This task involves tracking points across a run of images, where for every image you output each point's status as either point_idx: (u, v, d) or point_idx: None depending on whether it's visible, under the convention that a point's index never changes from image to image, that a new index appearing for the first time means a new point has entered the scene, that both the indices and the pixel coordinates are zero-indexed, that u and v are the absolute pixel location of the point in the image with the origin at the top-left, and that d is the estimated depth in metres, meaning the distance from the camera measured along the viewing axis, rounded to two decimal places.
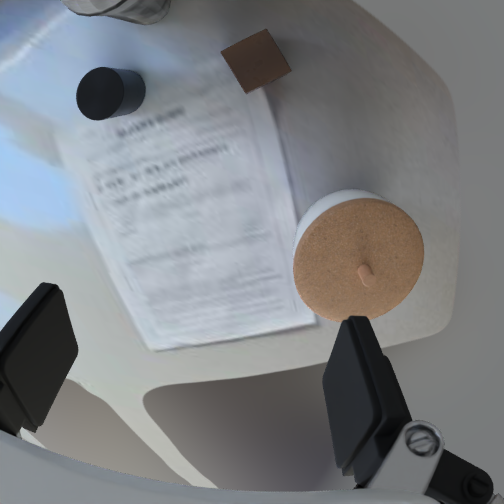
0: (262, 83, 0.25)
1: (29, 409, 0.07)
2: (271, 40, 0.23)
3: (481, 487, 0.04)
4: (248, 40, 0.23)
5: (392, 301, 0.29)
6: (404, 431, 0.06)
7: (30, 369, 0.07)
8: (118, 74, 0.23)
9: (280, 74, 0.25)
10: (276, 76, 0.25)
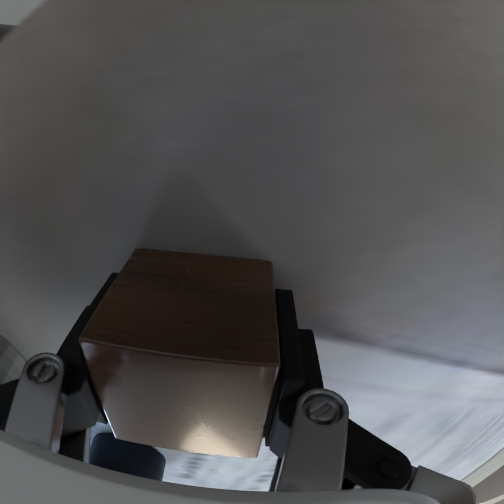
0: (259, 431, 0.08)
1: None
2: (126, 353, 0.06)
3: (394, 469, 0.05)
4: (103, 393, 0.07)
5: None
6: (304, 397, 0.07)
7: None
8: None
9: (267, 395, 0.07)
10: (265, 404, 0.07)
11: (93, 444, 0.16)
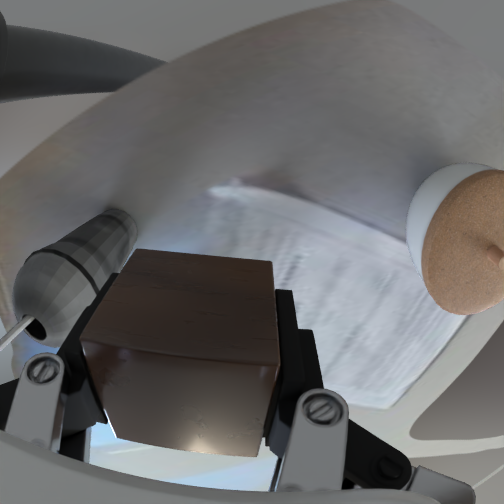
0: (259, 431, 0.08)
1: None
2: (127, 352, 0.06)
3: (394, 469, 0.05)
4: (104, 392, 0.07)
5: None
6: (304, 397, 0.07)
7: None
8: None
9: (267, 394, 0.07)
10: (265, 403, 0.07)
11: None
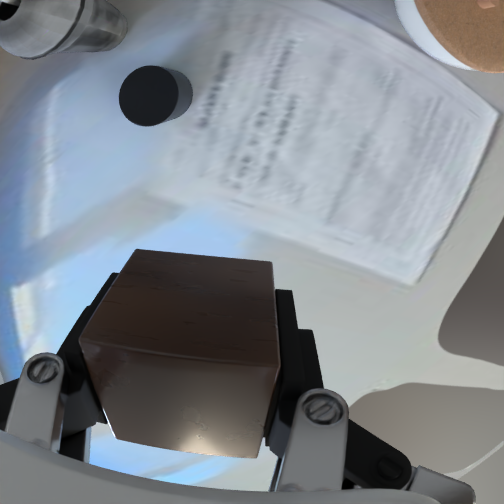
0: (259, 432, 0.08)
1: None
2: (126, 353, 0.06)
3: (394, 469, 0.05)
4: (103, 394, 0.07)
5: None
6: (304, 397, 0.07)
7: None
8: (145, 66, 0.21)
9: (267, 395, 0.07)
10: (265, 405, 0.07)
11: None
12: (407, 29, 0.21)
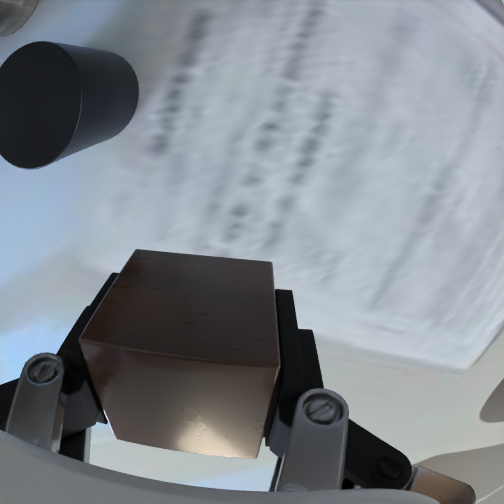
0: (259, 432, 0.08)
1: None
2: (126, 354, 0.06)
3: (394, 469, 0.05)
4: (103, 393, 0.07)
5: None
6: (304, 397, 0.07)
7: None
8: (26, 45, 0.08)
9: (267, 396, 0.07)
10: (265, 405, 0.07)
11: None
12: None
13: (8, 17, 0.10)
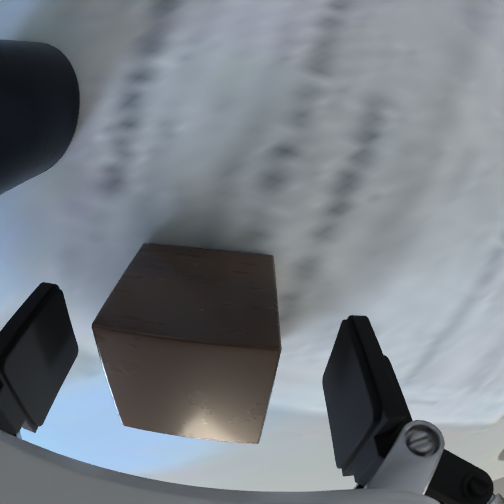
0: (261, 416, 0.08)
1: (29, 409, 0.07)
2: (137, 338, 0.07)
3: (481, 487, 0.04)
4: (113, 379, 0.08)
5: None
6: (404, 431, 0.06)
7: (30, 369, 0.07)
8: None
9: (269, 378, 0.07)
10: (267, 388, 0.08)
11: None
12: None
13: None
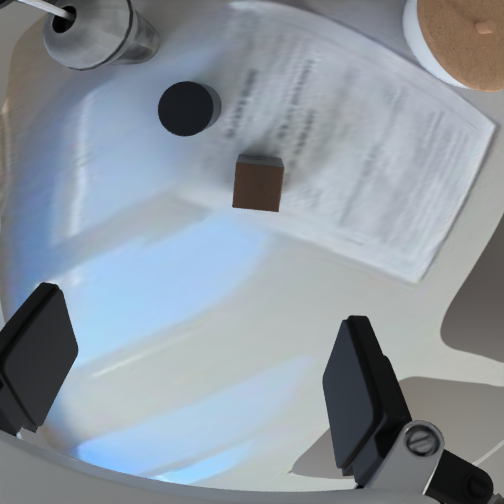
0: (279, 195, 0.31)
1: (29, 409, 0.07)
2: (249, 165, 0.30)
3: (481, 487, 0.04)
4: (237, 182, 0.30)
5: None
6: (404, 431, 0.06)
7: (30, 369, 0.07)
8: None
9: (281, 177, 0.30)
10: (281, 181, 0.30)
11: None
12: (413, 52, 0.24)
13: (147, 56, 0.27)
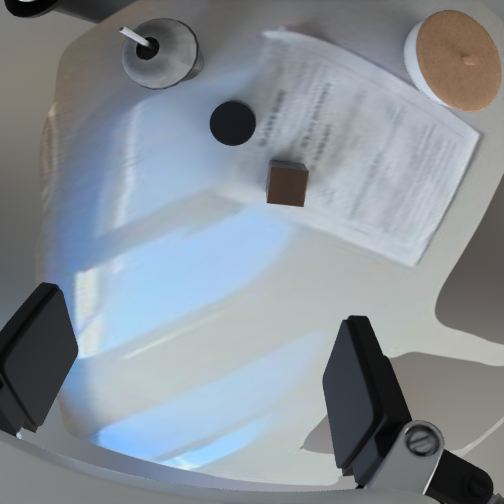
0: (304, 193, 0.38)
1: (29, 409, 0.07)
2: (281, 169, 0.37)
3: (481, 487, 0.04)
4: (271, 182, 0.38)
5: (496, 63, 0.25)
6: (404, 431, 0.06)
7: (30, 369, 0.07)
8: (231, 101, 0.32)
9: (306, 179, 0.38)
10: (306, 183, 0.38)
11: None
12: (411, 78, 0.32)
13: (195, 75, 0.34)
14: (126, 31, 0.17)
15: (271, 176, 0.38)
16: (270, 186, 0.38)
